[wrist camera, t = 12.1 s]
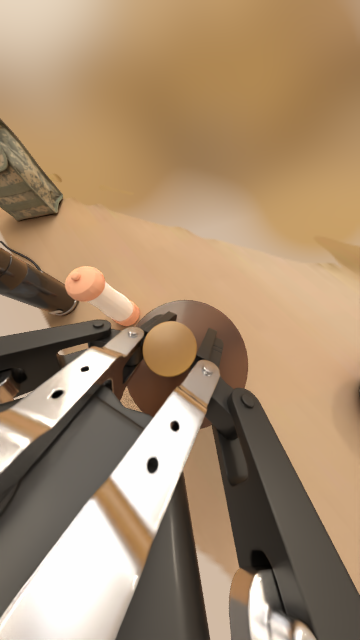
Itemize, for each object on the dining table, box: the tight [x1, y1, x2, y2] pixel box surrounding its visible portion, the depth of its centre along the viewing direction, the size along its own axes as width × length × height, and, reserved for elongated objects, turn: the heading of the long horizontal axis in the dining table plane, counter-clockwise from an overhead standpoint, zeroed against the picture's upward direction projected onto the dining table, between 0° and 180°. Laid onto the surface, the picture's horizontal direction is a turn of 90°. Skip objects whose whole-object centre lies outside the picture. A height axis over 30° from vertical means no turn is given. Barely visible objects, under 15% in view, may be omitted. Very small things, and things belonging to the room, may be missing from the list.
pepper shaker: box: [65, 266, 140, 326], centre depth 31 cm, size 7×7×19 cm
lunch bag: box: [0, 119, 63, 221], centre depth 52 cm, size 22×16×27 cm
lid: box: [127, 300, 248, 429], centre depth 11 cm, size 12×12×8 cm
